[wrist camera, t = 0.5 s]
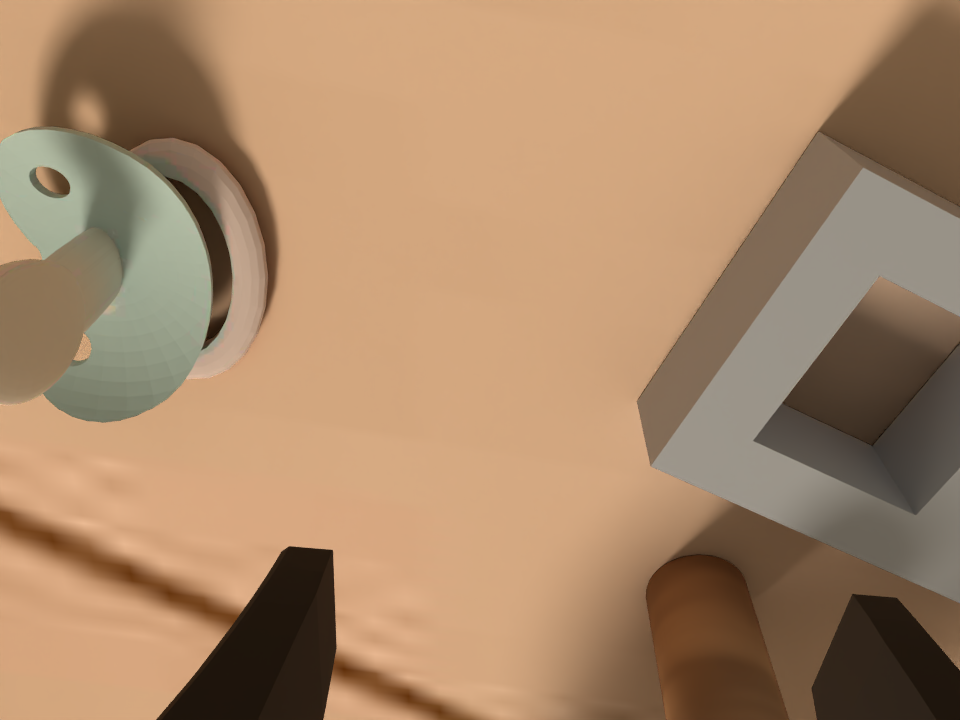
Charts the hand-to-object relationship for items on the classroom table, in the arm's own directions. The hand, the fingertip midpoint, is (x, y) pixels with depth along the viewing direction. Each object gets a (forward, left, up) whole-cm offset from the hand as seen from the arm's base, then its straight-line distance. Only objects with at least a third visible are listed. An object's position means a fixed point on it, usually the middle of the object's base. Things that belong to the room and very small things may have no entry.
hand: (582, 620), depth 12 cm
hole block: (+2, -11, -11) cm, 16 cm away
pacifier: (-4, +10, -11) cm, 15 cm away
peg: (-7, -8, -11) cm, 15 cm away
